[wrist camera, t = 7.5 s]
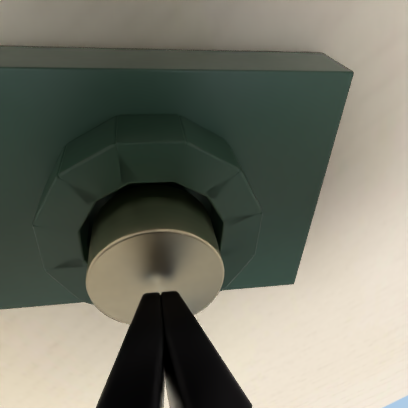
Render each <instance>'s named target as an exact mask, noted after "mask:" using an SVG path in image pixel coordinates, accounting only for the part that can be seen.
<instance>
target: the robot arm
mask: <svg viewBox="0 0 408 408" xmlns="http://www.w3.org/2000/svg"><path fill="white" fill-rule="evenodd" d="M165 383H166V389H167V395H168V400H169V406H170V408H252V404H251V403H250V401H249V400H248V398H247V397H246V395H245V393H244V392H243V390H242V389H241V387H240V386H239V384H238V383H237V381H236V380H235V378H234V377H233V375H232V374H231V372H230V371H229V369H228V367H227V366H226V364H225V363H224V361H223V360H222V358H221V357H220V355H219V354H218V352H217V351H216V349H215V348H214V346H213V344H212V343H211V341H210V340H209V338H208V337H207V335H206V334H205V332H204V331H203V329H202V328H201V326H200V325H199V323H198V322H197V320H196V318H195V317H194V315H193V314H192V312H191V311H190V309H189V308H188V306H187V305H186V303H185V302H184V300H183V299H182V297H181V296H180V294H179V293H178V292H177V291H165V292H162V293H161V296H160V293H158V292H153V293H145V294H143V296H142V297H141V300H140V302H139V305H138V307H137V310H136V312H135V314H134V317H133V319H132V322H131V324H130V327H129V329H128V331H127V334H126V336H125V339H124V341H123V343H122V346H121V348H120V351H119V353H118V356H117V358H116V360H115V363H114V365H113V368H112V370H111V372H110V375H109V377H108V380H107V382H106V385H105V387H104V389H103V392H102V394H101V397H100V399H99V401H98V404H97V406H96V408H164V387H165Z"/></svg>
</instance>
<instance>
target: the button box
mask: <svg viewBox="0 0 408 408" xmlns="http://www.w3.org/2000/svg"><path fill="white" fill-rule="evenodd" d="M353 74H354V72H353V71H351V70H350V69H348V68H347V67H345V66H343V65H342V64H340V63H339V62H337V61H335V60H334V59H332V58H330V57H329V56H327V55H326V54H324V53H309V52H261V51H214V50H166V49H119V48H72V47H24V46H0V309H10V308H22V307H34V306H45V305H57V304H68V303H80V302H86V303H89V304H93V302H92V301H91V299H90V297H89V295H88V292H87V289H86V273H87V265H88V257H89V249H90V241H91V233H92V226H93V222H94V220H95V217H96V215H97V214H98V212H99V211H100V209H101V208H102V207H103V206H104V205H105V204H106V203H107V202H108V201H109V200H110V199H112V198H113V197H115V196H116V195H118V194H119V193H121V192H124V191H126V190H128V189H131V188H135V187H139V186H144V185H165V186H171V187H175V188H178V189H181V190H183V191H185V192H187V193H189V194H191V195H192V196H194V197H195V198H196V199H198V200H199V201H200V202H201V203H202V204H203V206H204V207H205V208H206V210H207V212H208V214H209V216H210V219H211V222H212V226H213V229H214V233H215V236H216V240H217V243H218V247H219V250H220V254H221V257H222V261H223V264H224V280H223V284H222V286H221V289H220V291H222V290H231V289H243V288H254V287H266V286H278V285H289V284H294V282H295V278H296V275H297V271H298V268H299V264H300V261H301V257H302V254H303V250H304V246H305V243H306V239H307V236H308V232H309V229H310V225H311V222H312V218H313V215H314V211H315V208H316V204H317V201H318V197H319V194H320V190H321V187H322V183H323V180H324V176H325V173H326V169H327V165H328V162H329V158H330V155H331V151H332V148H333V144H334V141H335V137H336V134H337V130H338V127H339V123H340V120H341V116H342V113H343V109H344V106H345V102H346V99H347V95H348V92H349V88H350V85H351V81H352V77H353ZM220 291H219V292H220ZM93 305H94V304H93Z"/></svg>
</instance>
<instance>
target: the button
mask: <svg viewBox="0 0 408 408" xmlns="http://www.w3.org/2000/svg"><path fill="white" fill-rule="evenodd" d="M223 280H224V264H223V261H222V257H221V254H220V250H219V247H218V243H217V240H216V236H215V233H214V229H213V226H212V222H211V219H210V216H209V214H208V212H207V210H206V208H205V207H204V206H203V204H202V203H201V202H200V201H199V200H198V199H196V198H195V197H194V196H192V195H191V194H189V193H187V192H185V191H183V190H181V189H178V188H175V187H171V186H165V185H144V186H139V187H135V188H131V189H128V190H126V191H124V192H121V193H119V194H118V195H116V196H115V197H113V198H112V199H110V200H109V201H108V202H107V203H106V204H105V205H104V206H103V207H102V208H101V209H100V211H99V212H98V214H97V215H96V217H95V220H94V222H93V226H92V233H91V241H90V249H89V257H88V265H87V273H86V289H87V292H88V295H89V297H90V299H91V301H92V302H93V304H94V305H95V306H96V307H97V308H98V309H99V310H100V311H101V312H102V313H104V314H105V315H106V316H108V317H110V318H112V319H114V320H116V321H119V322H122V323H125V324H131V322H132V319H133V317H134V314H135V312H136V310H137V307H138V305H139V302H140V300H141V297H142V296H143V294H145V293H153V292H158V293H160V296H161V293H162V292H165V291H177V292H178V293H179V294H180V296H181V297H182V299H183V300H184V302H185V303H186V305H187V306H188V308H189V309H190V311H191V312H192V314H193V315H195V314H197V313H199V312H200V311H202V310H203V309H204V308H206V307H207V306H208V305H209V304H210V303H211V302H212V301H213V300H214V298H215V297H216V296H217V294H218V293H219V291H220V289H221V286H222V284H223Z"/></svg>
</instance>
